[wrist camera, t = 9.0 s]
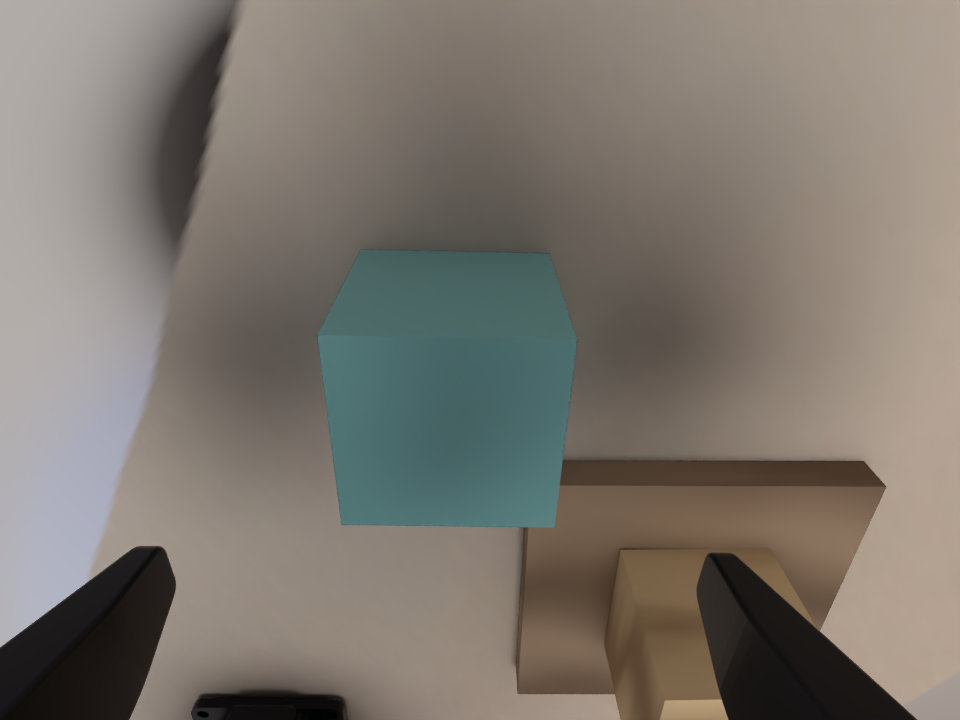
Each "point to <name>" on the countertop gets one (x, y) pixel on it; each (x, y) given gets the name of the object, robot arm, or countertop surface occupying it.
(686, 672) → the oak block
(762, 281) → the countertop surface
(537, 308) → the teal block
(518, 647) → the walnut board
